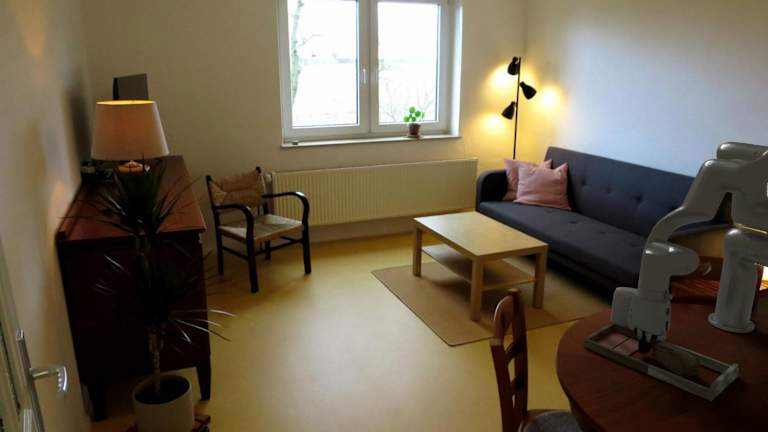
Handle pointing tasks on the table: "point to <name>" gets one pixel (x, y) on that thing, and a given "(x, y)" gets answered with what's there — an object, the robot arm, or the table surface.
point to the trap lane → (631, 345)
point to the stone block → (675, 359)
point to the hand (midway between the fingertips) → (643, 352)
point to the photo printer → (622, 305)
